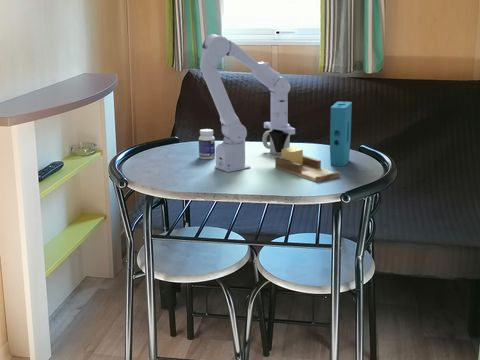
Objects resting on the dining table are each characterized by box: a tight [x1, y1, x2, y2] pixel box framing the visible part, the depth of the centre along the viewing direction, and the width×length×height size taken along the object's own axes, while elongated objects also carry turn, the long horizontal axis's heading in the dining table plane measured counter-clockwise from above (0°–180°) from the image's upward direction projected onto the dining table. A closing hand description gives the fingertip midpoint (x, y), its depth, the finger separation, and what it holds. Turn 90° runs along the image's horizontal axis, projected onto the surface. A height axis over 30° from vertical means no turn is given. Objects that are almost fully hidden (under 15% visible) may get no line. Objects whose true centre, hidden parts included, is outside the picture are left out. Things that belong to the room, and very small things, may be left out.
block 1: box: [280, 146, 304, 165], centre depth 224 cm, size 5×5×5 cm
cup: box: [261, 129, 291, 156], centre depth 244 cm, size 7×10×9 cm
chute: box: [274, 155, 341, 183], centre depth 219 cm, size 9×21×4 cm, turn 35°
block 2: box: [329, 101, 353, 167], centre depth 228 cm, size 12×5×20 cm, turn 160°
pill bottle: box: [198, 128, 216, 160], centre depth 238 cm, size 6×6×10 cm
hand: (279, 151), depth 229 cm, fingers closed
